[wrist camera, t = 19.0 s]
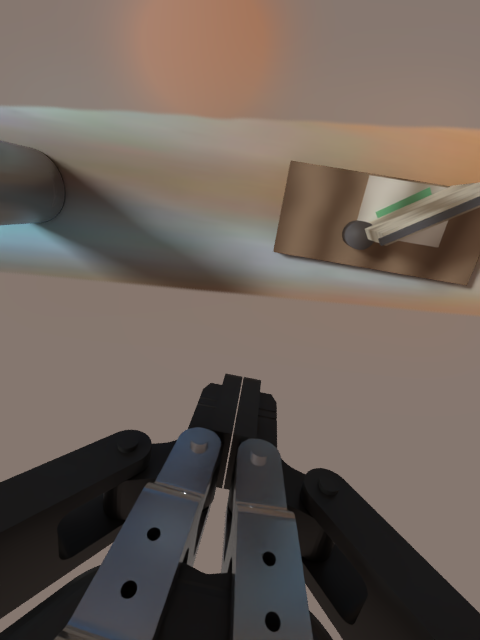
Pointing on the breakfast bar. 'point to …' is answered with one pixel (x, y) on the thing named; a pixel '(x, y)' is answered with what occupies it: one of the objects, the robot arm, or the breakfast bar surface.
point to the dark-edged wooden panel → (413, 217)
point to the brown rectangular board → (367, 205)
